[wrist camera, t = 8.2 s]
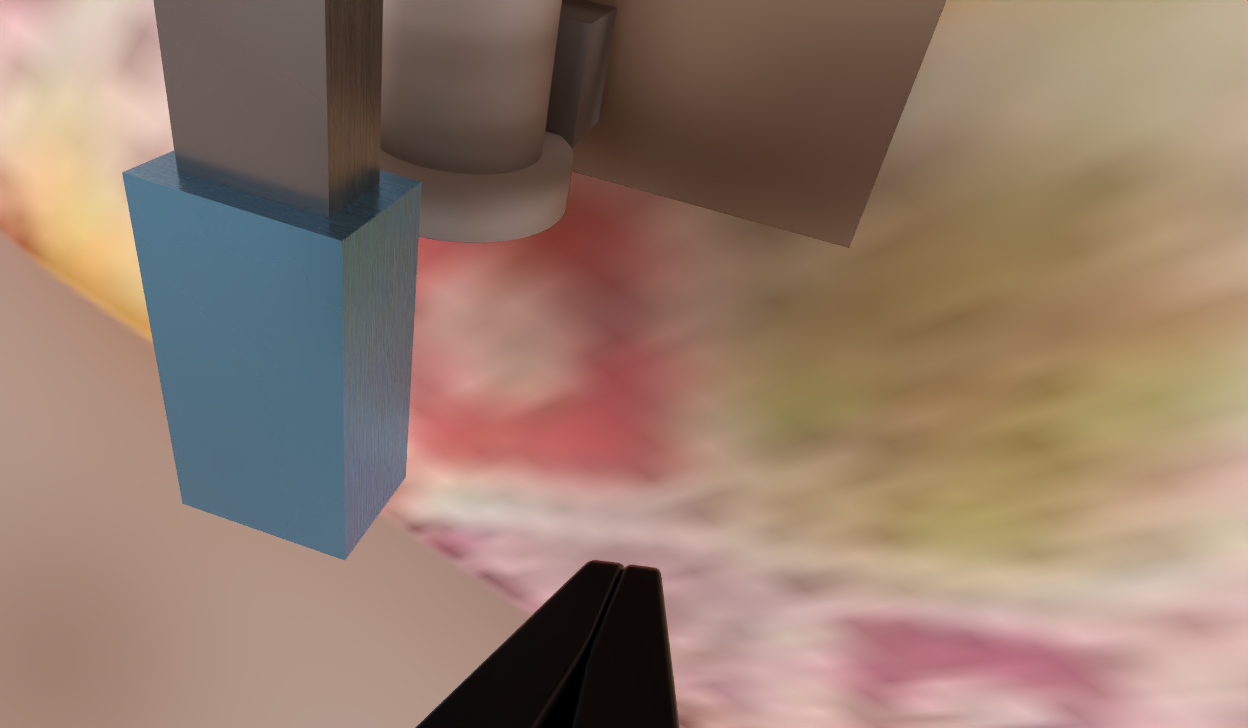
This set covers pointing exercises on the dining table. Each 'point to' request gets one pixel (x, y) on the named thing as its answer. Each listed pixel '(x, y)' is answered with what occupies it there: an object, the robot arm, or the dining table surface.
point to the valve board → (645, 106)
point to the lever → (279, 266)
